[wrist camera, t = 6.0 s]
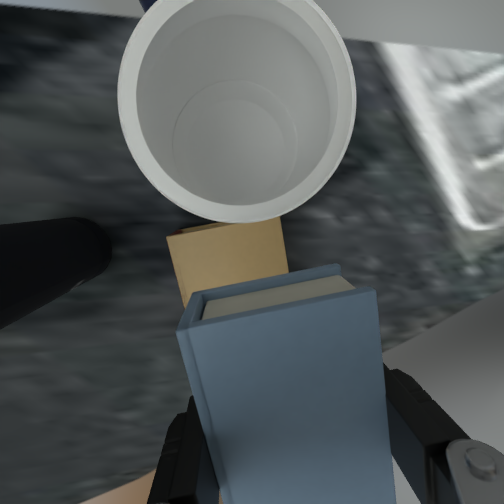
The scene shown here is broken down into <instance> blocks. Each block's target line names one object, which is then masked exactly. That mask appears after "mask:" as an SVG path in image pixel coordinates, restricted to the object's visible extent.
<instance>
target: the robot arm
mask: <svg viewBox="0 0 504 504" xmlns="http://www.w3.org/2000/svg"><path fill="white" fill-rule="evenodd" d="M383 369H384V380H385V390H386V394H385V397H386V407H387V418H388V428H389V438H390V449H391V454H392V456H393V457H394V459H395V460H396V462H397V464H398V466H399V467H400V469H401V471H402V472H403V474H404V476H405V477H406V479H407V481H408V482H409V484H410V486H411V487H412V489H413V491H414V493H415V494H416V496H417V498H418V499H419V501H420V502H421V504H504V455H503V454H502V453H501V452H499V451H498V450H496V449H495V448H493V447H491V446H489V445H487V444H485V443H482V442H480V441H476V440H472V439H471V438H470V437H469V436H468V435H467V434H466V433H465V432H464V431H463V430H462V429H461V428H460V427H459V426H458V425H457V424H456V423H455V422H454V420H453V419H452V418H451V417H449V415H448V414H447V413H446V412H445V411H444V410H443V409H442V408H441V407H440V406H439V405H438V404H437V403H436V402H435V401H434V400H432V398H431V397H430V395H428V393H426V391H425V390H423V389H422V387H421V386H420V385H419V384H418V383H417V382H416V381H415V380H414V379H413V378H412V377H411V376H409V375H408V374H406V373H404V372H402V371H400V370H399V369H393V370H389V368H387V366H386V365H385V364H384V363H383ZM147 504H219V486H218V482H217V478H216V475H215V471H214V468H213V464H212V460H211V457H210V453H209V450H208V446H207V443H206V439H205V435H204V432H203V428H202V425H201V421H200V418H199V414H198V410H197V407H196V403H195V400H194V396H193V395H192V396H191V397H190V400H189V404H188V408H187V412H185V413H180V414H177V416H176V417H175V419H174V420H173V422H172V423H171V424H170V426H169V428H168V431H167V435H166V438H165V444H164V445H163V449H162V452H161V456H160V459H159V463H158V466H157V470H156V473H155V476H154V480H153V483H152V487H151V490H150V494H149V498H148V501H147Z"/></svg>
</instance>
